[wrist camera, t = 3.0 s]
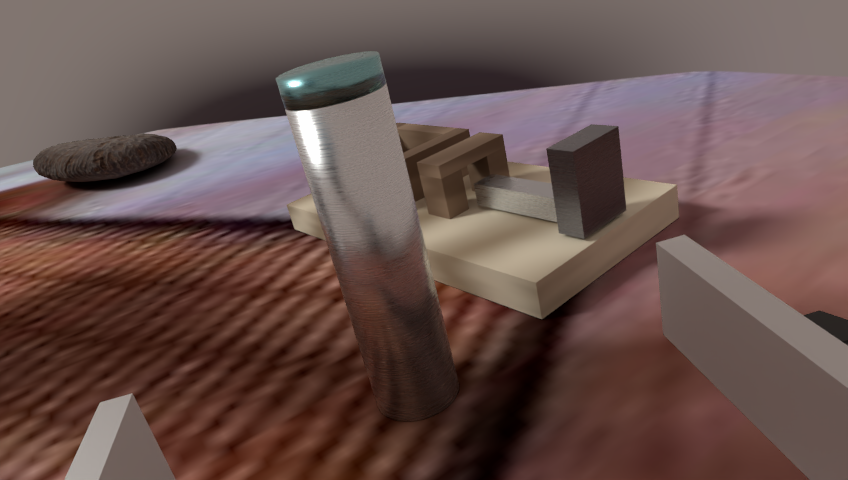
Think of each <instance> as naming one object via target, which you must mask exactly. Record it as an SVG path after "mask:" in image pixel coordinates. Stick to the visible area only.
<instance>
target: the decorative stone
mask: <svg viewBox="0 0 848 480" xmlns="http://www.w3.org/2000/svg"><path fill="white" fill-rule="evenodd" d="M176 149H177V148H176V145H175V143H174V142H173V141H172V140H171V139H169V138H167V137H163V136H159V135H155V134H137V135H130V136H114V137H107V138H100V139H86V140H82V141H74V142H68V143H62V144H58V145H56V146H51V147H49V148H47V149H45V150H43V151H41V152H40V153H39V154H38V155H37V156H36V158H35V159H34V160H33V165H34V166H33V167H34V169H35V170H36V172H37V173H38V174H39V175H41V176H44V177H47V178H49V179H52V180H59V181H70V182H89V181H98V180H106V179H116V178H121V177H124V176H127V175H129V174H132V173H136V172H140V171H143V170H146V169H148V168H151V167H153V166H156V165H158V164H160V163H162V162H164V161H165V160H167V159H168V158H169V157H171V156H172V155H173V154H174V153H175V151H176Z"/></svg>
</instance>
